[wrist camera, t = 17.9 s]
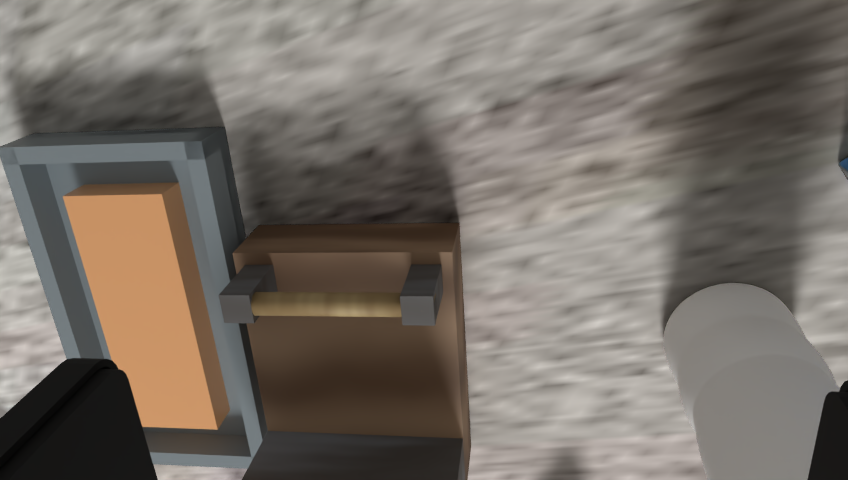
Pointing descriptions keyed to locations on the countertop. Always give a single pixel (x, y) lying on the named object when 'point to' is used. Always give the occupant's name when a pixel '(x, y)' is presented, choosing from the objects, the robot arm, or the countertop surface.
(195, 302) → the orange rectangular block
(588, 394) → the countertop surface
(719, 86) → the countertop surface
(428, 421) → the dispenser
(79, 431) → the robot arm
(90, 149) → the tray
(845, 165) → the label tape cartridge
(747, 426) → the water bottle
